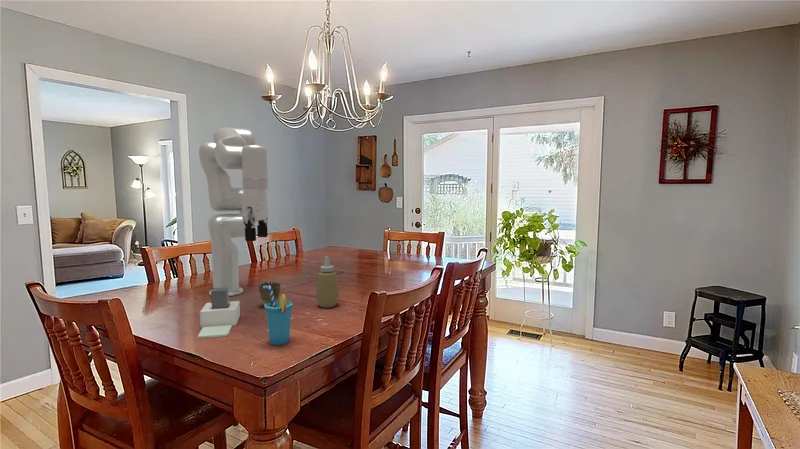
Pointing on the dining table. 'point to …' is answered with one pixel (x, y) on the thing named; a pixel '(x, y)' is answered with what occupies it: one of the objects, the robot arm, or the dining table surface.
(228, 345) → the dining table surface
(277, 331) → the cup
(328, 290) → the squeeze bottle
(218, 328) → the mat
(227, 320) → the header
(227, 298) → the plug
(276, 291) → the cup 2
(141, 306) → the dining table surface
